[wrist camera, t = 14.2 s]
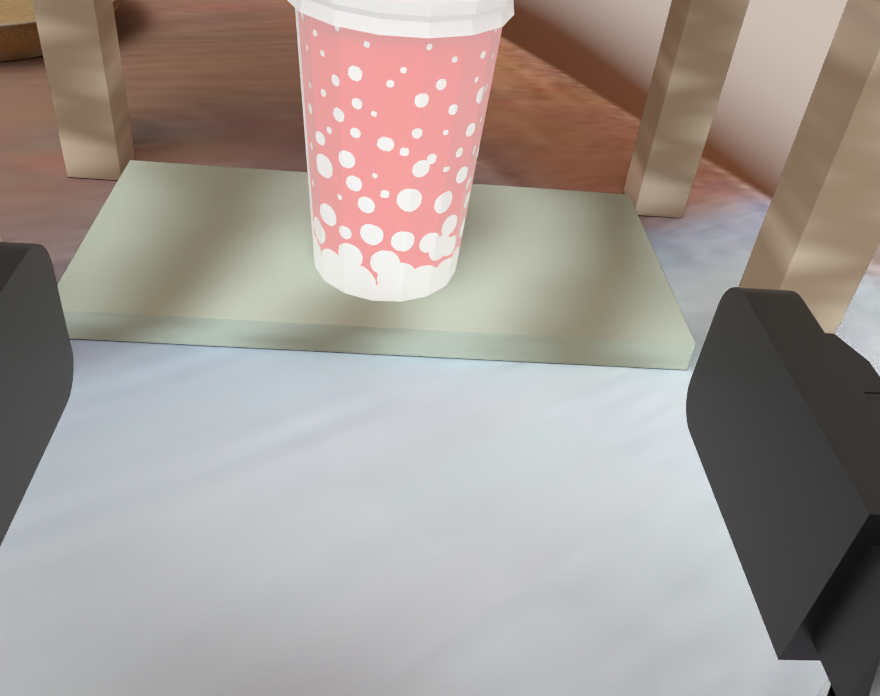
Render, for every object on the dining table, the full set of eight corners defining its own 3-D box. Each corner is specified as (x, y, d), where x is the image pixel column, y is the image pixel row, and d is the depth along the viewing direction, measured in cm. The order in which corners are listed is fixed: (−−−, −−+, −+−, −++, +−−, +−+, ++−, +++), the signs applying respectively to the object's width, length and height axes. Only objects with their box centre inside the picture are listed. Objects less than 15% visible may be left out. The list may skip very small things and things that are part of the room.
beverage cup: (503, 308, 26) (598, -251, 17) (304, 325, 24) (294, -282, 15) (450, 210, 30) (502, -270, 21) (279, 219, 28) (261, -295, 20)
